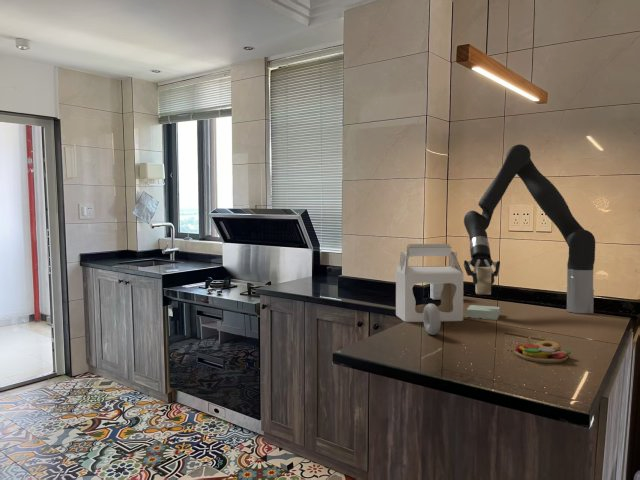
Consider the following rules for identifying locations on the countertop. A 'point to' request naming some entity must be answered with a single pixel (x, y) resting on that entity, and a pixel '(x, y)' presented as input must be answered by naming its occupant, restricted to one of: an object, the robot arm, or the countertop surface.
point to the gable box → (429, 274)
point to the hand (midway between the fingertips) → (484, 283)
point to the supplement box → (436, 291)
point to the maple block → (483, 280)
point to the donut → (431, 319)
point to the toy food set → (542, 352)
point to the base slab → (483, 312)
